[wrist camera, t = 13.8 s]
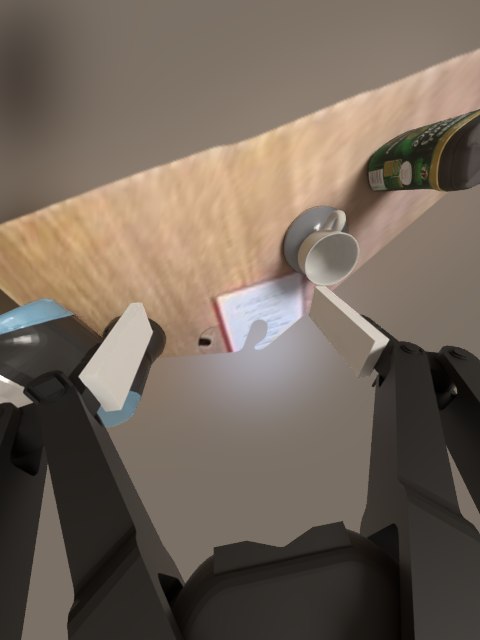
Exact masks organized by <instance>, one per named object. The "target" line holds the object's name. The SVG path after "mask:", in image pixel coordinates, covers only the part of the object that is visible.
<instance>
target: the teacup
mask: <svg viewBox="0 0 480 640" xmlns="http://www.w3.org/2000/svg"><path fill="white" fill-rule="evenodd" d="M336 218H337V222H336V226H335V227H334V228H333V229H331V227H332V225H333V223H334V221H335V219H336ZM345 221H346V215H345V213H344V212H343V211H341V210H337V211H334V212H332V213H331V215H330V216H329V217H328V219H327V221H326V223H325V225H324V226H323V228H322V230H318V231H316V232H314V233H312V234H310V235H309V236H308V237H307V238H306V239H305V240H304V241H303V243H302V244H301V246H300V249H299V252H298V263H299V266H300V268H301V270H302V271H303V273H304V274H305V275H306V276H307V278H308V279H309V280H310V281H311V282H312V283H314V284H316V285H320V286H329V285H333V284H336V283H338V282H340V281H341V280H343V279H344V278H345V277H347V276H348V275H349V274H350V273H351V271H352V270H353V269H354V267H355V265H356V263H357V261H358V258H359V245H358V243H357V241H356V239H355V238H354V237H353V236H351V235H350V234H347V233H344V232H341V230H342V229H343V227H344V225H345Z"/></svg>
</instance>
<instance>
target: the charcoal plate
mask: <svg viewBox="0 0 480 640" xmlns="http://www.w3.org/2000/svg"><path fill="white" fill-rule="evenodd" d="M334 211H337V209H335V208H332V207H327V206H317V207H313V208H310V209H308V210H306V211H304V212H302V213H301V214H300V215H299V216H298V217H297V218H296V219H295V220H294V221H293V222H292V224H291V225H290V227H289V228H288V230H287V233H286V235H285V239H284V245H283V250H284V256H285V259H286V261H287V263H288V264H289V265H290V266H291V267H292V268H293V269H294V270H295V271H297V272H299V273H301V274H304V273H303V271H302V270H301V268H300V266H299V263H298V252H299V249H300V246H301V244H302V243H303V241H304V240H305V239H306V238H307V237H308V236H309V235H310V234H312V233H314V232H316V231H318V230H322V228H323V226H324V225H325V223H326V221H327V219H328V217H329V216H330V215H331V213H332V212H334ZM336 222H337V218H336V219H335V221H334V223H333V225H332V227H331V229H333V228H334V227H335V226H336ZM341 232H344V233H347V234H348V225H347V221H345V225H344V227H343V229H342V230H341Z"/></svg>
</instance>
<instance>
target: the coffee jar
mask: <svg viewBox="0 0 480 640" xmlns="http://www.w3.org/2000/svg"><path fill="white" fill-rule="evenodd" d="M368 179H369V183H370V186H371V188H372V189H373V190H374V191H397V190H415V189H435V190H438V191H447V192H448V191H457V190H465V189H469V188H472V187H474V186H476V185H478V184H480V109H479V110H476V111H473V112H470V113H467V114H463V115H460V116H457V117H454V118H450V119H447V120H444V121H440V122H437V123H434V124H431V125H427V126H424V127H420V128H417V129H414V130H410V131H407V132H405V133H403V134H401V135H399V136H397V137H395V138H394V139H392V140H390V141H389V142H387V143H386V144H385V145H383V146H382V147H381V148H380V149H378V150H377V151H376V152H375V153H374V155H373V156H372V158H371V160H370V163H369V168H368Z"/></svg>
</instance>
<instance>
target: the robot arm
mask: <svg viewBox="0 0 480 640" xmlns="http://www.w3.org/2000/svg"><path fill="white" fill-rule="evenodd" d="M309 316H310V318H311V319H312V320H313V321H314V323H315V324H316V325H317V327H318V328H319V329H320V330H321V332H322V333H323V334H324V335H325V337H326V338H327V339H328V340H329V342H330V343H331V344H332V345H333V347H334V348H335V349H336V351H337V352H338V353H339V354H340V356H341V357H342V358H343V359H344V360H345V362H346V363H347V364H348V366H349V367H350V368H351V369H352V371H353V372H354V373H355V374H356V376H357V377H364V376H370V375H371V373H372V371H373V370H374V369H375V370H376V371H377V372H378V373H379V374H378V375H377V377H376V379H375V381H374V383H373V385H372V387H374V386H375V385H376V390H375V403H374V417H373V430H372V443H371V456H370V469H369V482H368V483H369V484H368V496H367V505H366V509H365V512H364V515H363V517H362V521H361V527H360V534H359V533H357V532H354V531H351V530H348V529H346V528H345V526H344V524H343V521H341V522H336V523H331V524H327V525H321V526H317V527H312V528H311V529H310V530H308V531H307V532H305V533H304V534H302V535H301V536H299V537H298V538H296V539H295V540H294V541H292V542H291V543H289V544H288V545H286V546H285V547H276V546H271V545H266V544H260V543H256V542H250V541H243V542H239V543H233V544H229V545H224V546H219V547H214V554H213V555H212V556H210V557H209V558H208V559H206V561H204V562H203V563H202V564H201V565H200V566H199V567H198V568H197V569H196V570H195V572H194V573H193V574H192V575H191V576H190V578H189V580H188V581H187V582H186V584H185V582H184V580H183V579H182V576H181V574H180V572H179V570H178V568H177V566H176V565H175V563H174V561H173V559H172V558H171V556H170V555H169V553H168V552H167V551H166V549H165V547H164V546H163V544H162V542H161V540H160V538H159V536H158V534H157V532H156V530H155V528H154V526H153V524H152V522H151V520H150V517H149V515H148V514H147V512H146V509H145V507H144V505H143V504H142V501H141V499H140V497H139V495H138V493H137V491H136V489H135V487H134V485H133V483H132V481H131V479H130V477H129V475H128V473H127V471H126V469H125V467H124V465H123V462H122V460H121V458H120V457H119V454H118V452H117V450H116V448H115V446H114V444H113V442H112V440H111V438H110V436H109V434H108V432H107V430H106V428H107V427H112V426H116V425H119V424H121V423H124V422H125V421H127V420H128V419H130V418H131V417H132V415H133V414H134V412H135V410H136V408H137V405H138V403H139V401H140V400H141V396H142V393H143V389H144V386H145V383H146V380H147V377H148V374H149V371H150V368H151V365H152V363H153V362H154V361H155V360H156V359H157V357H159V356H160V354H161V353H162V352H163V350H164V347H165V343H166V336H165V333H164V331H163V330H162V328H161V327H160V326H159V325H158V324H157V323H156V322H154V321H153V320H151V319H149V318H147V315H146V312H145V310H144V307H143V304H142V302H139V303H131V304H130V305H129V306H128V308H127V309H126V311H125V312H124V313H123V315H122V316H119V317H117V318H115V319H113V320H112V321H111V322H110V323H109V324H108V326H107V327H106V328H105V330H104V332H103V337H101V336H100V335H98V334H97V333H96V332H95V331H94V330H92V329H91V328H90V327H89V326H88V325H87V324H85V323H84V322H83V321H82V320H81V319H79V318H78V317H77V316H76V314H75V313H73V312H70V311H69V310H67V309H66V308H65V307H63V306H62V305H61V304H59V303H58V302H57V301H55V300H52V299H47V298H44V299H38V300H35V301H33V302H30V303H28V304H25V305H23V306H21V307H18V308H16V309H14V310H12V311H9V312H7V313H5V314H3V315H0V640H21V637H22V630H23V623H24V617H25V610H26V603H27V597H28V590H29V584H30V576H31V569H32V564H33V557H34V550H35V544H36V537H37V530H38V523H39V518H40V510H41V504H42V498H43V491H44V483H45V478H46V471H47V465H49V470H50V475H51V480H52V485H53V490H54V495H55V499H56V504H57V509H58V514H59V519H60V524H61V529H62V533H63V539H64V543H65V548H66V553H67V558H68V563H69V568H70V573H71V578H72V582H73V587H74V603H73V605H72V607H71V609H70V612H69V615H68V623H67V629H68V640H480V534H479V532H478V530H477V529H476V528H475V526H474V525H473V524H472V523H470V522H469V521H468V520H466V519H465V518H464V517H463V516H462V514H461V513H460V509H459V506H458V501H457V496H456V491H455V486H454V482H453V477H452V472H451V467H450V463H449V458H448V453H447V448H448V449H449V452H450V454H451V456H452V458H453V460H454V462H455V464H456V466H457V468H458V470H459V472H460V474H461V476H462V478H463V480H464V483H465V484H466V486H467V489H468V491H469V493H470V495H471V497H472V499H473V501H474V503H475V505H476V507H477V509H478V511H479V513H480V360H479V359H478V358H477V357H476V356H474V355H473V354H472V353H470V352H468V351H467V350H465V349H462V348H459V347H454V346H444V347H442V349H441V350H440V351H439V353H435V352H426V351H424V350H423V349H422V348H421V347H419V346H417V345H415V344H413V343H410V342H404V341H401V342H399V341H398V340H397V339H395V338H394V337H393V336H392V335H390V334H389V333H388V332H386V331H385V330H384V329H383V328H381V327H380V326H379V325H378V324H376V323H375V322H374V321H373V320H371V319H370V318H368V317H366V316H364V315H359V314H358V313H357V312H356V311H354V310H353V309H352V308H351V307H349V306H348V305H347V304H346V303H345V302H343V301H342V300H341V299H340V298H339V297H337V296H336V295H335V294H334V293H333V292H331V291H330V290H329V289H328V288H326V287H325V286H315V289H314V294H313V299H312V304H311V309H310V314H309ZM455 387H456V388H457V394H456V393H455V391H454V390H453V389H454V388H455ZM446 446H447V448H446Z"/></svg>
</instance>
